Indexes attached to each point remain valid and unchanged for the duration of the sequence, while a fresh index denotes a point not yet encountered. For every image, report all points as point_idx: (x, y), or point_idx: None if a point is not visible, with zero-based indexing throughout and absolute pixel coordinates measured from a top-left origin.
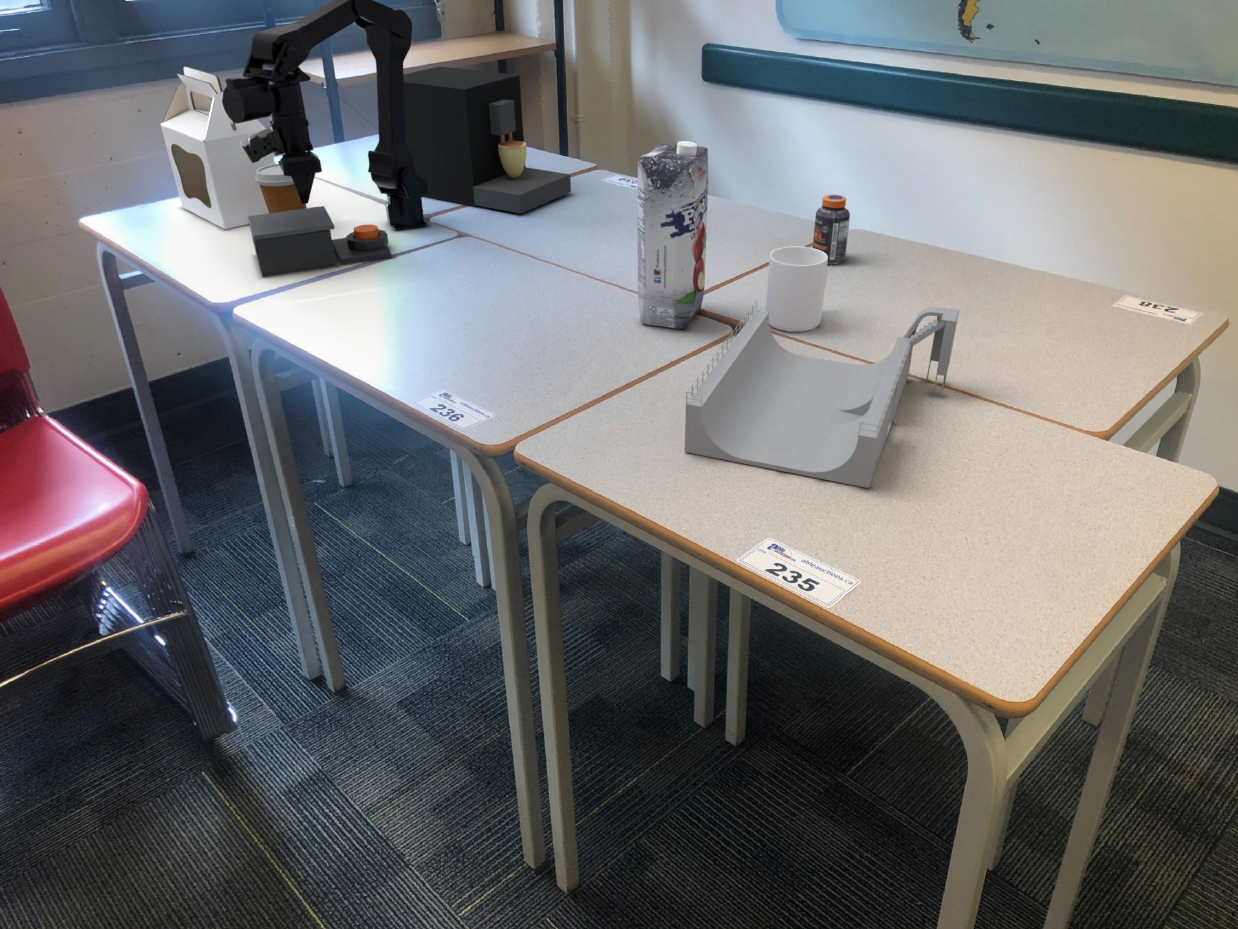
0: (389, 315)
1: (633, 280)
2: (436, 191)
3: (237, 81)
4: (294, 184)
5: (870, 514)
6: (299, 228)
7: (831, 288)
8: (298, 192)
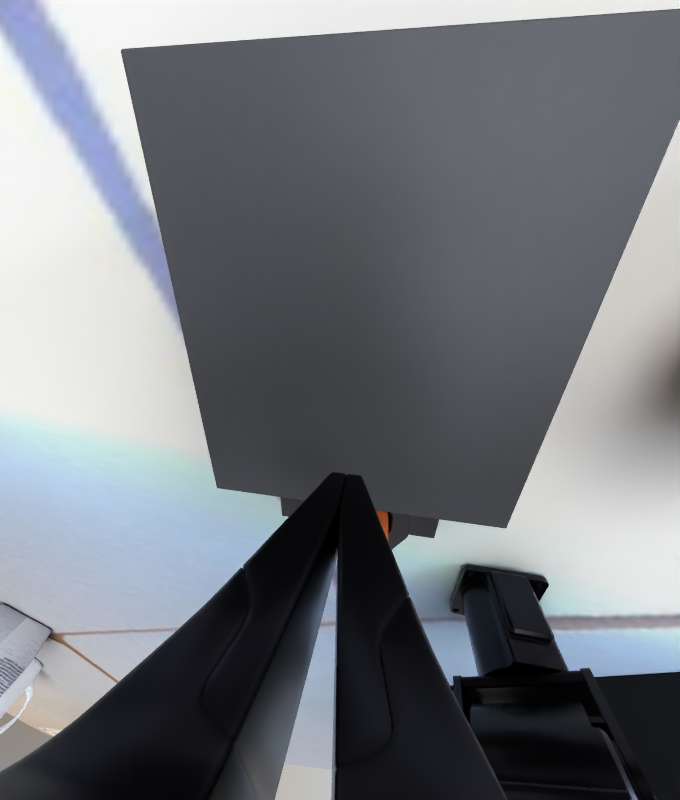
0: None
1: (121, 645)
2: (641, 701)
3: None
4: (263, 595)
5: None
6: (203, 366)
7: (91, 696)
8: (277, 529)
